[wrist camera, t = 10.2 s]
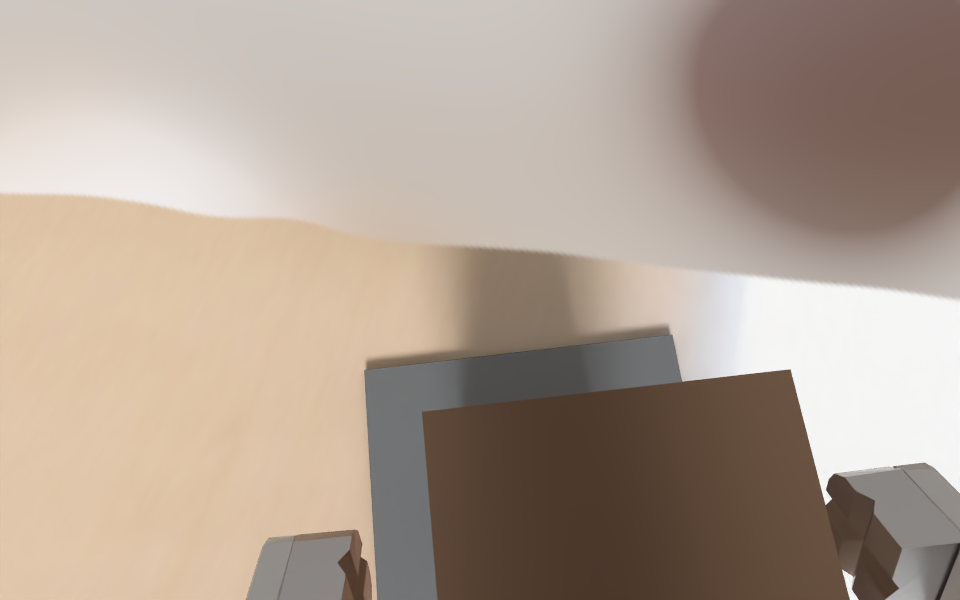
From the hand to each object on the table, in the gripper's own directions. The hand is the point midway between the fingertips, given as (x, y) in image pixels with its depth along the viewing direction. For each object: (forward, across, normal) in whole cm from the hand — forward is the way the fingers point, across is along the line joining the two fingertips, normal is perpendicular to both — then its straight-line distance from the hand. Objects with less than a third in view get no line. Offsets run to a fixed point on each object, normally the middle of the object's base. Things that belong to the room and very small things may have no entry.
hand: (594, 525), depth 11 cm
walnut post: (+4, 0, +5) cm, 6 cm away
